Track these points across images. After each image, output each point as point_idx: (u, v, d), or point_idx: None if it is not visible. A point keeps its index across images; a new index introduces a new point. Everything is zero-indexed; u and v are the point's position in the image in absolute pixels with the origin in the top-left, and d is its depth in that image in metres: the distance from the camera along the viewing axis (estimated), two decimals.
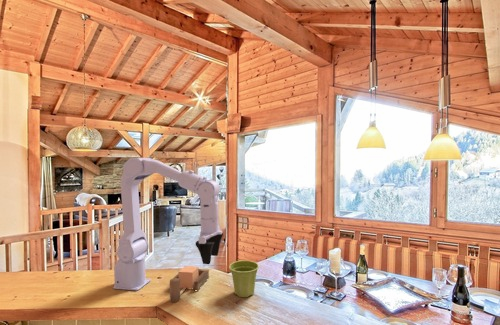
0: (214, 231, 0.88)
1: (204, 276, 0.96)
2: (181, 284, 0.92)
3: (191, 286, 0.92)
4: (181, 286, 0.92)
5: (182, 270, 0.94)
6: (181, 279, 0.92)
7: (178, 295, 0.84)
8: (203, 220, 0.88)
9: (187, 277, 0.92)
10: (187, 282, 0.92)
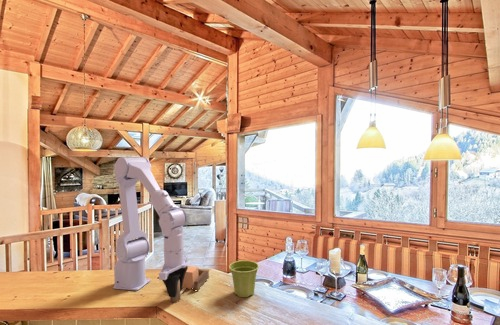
0: (178, 264, 0.82)
1: (204, 276, 0.96)
2: None
3: (191, 286, 0.92)
4: None
5: None
6: None
7: (178, 295, 0.84)
8: (166, 253, 0.82)
9: (187, 276, 0.92)
10: (187, 282, 0.92)
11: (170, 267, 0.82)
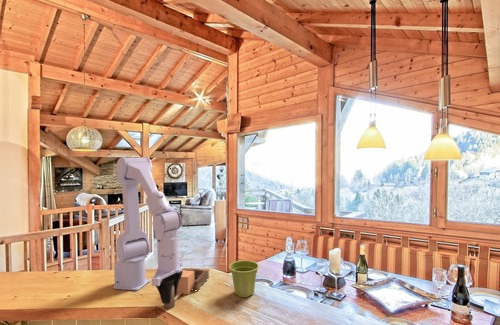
0: (172, 269, 0.79)
1: (204, 276, 0.96)
2: None
3: (186, 291, 0.88)
4: None
5: None
6: None
7: (172, 301, 0.80)
8: (159, 257, 0.79)
9: (182, 281, 0.88)
10: (182, 287, 0.88)
11: (164, 272, 0.78)
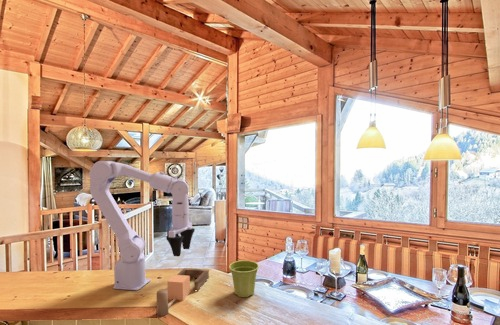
0: (184, 226, 0.96)
1: (204, 276, 0.96)
2: (170, 295, 0.85)
3: (181, 297, 0.84)
4: (170, 297, 0.85)
5: (171, 279, 0.86)
6: (170, 289, 0.85)
7: (166, 308, 0.77)
8: (174, 216, 0.96)
9: (177, 287, 0.85)
10: (177, 293, 0.85)
11: (178, 228, 0.96)
